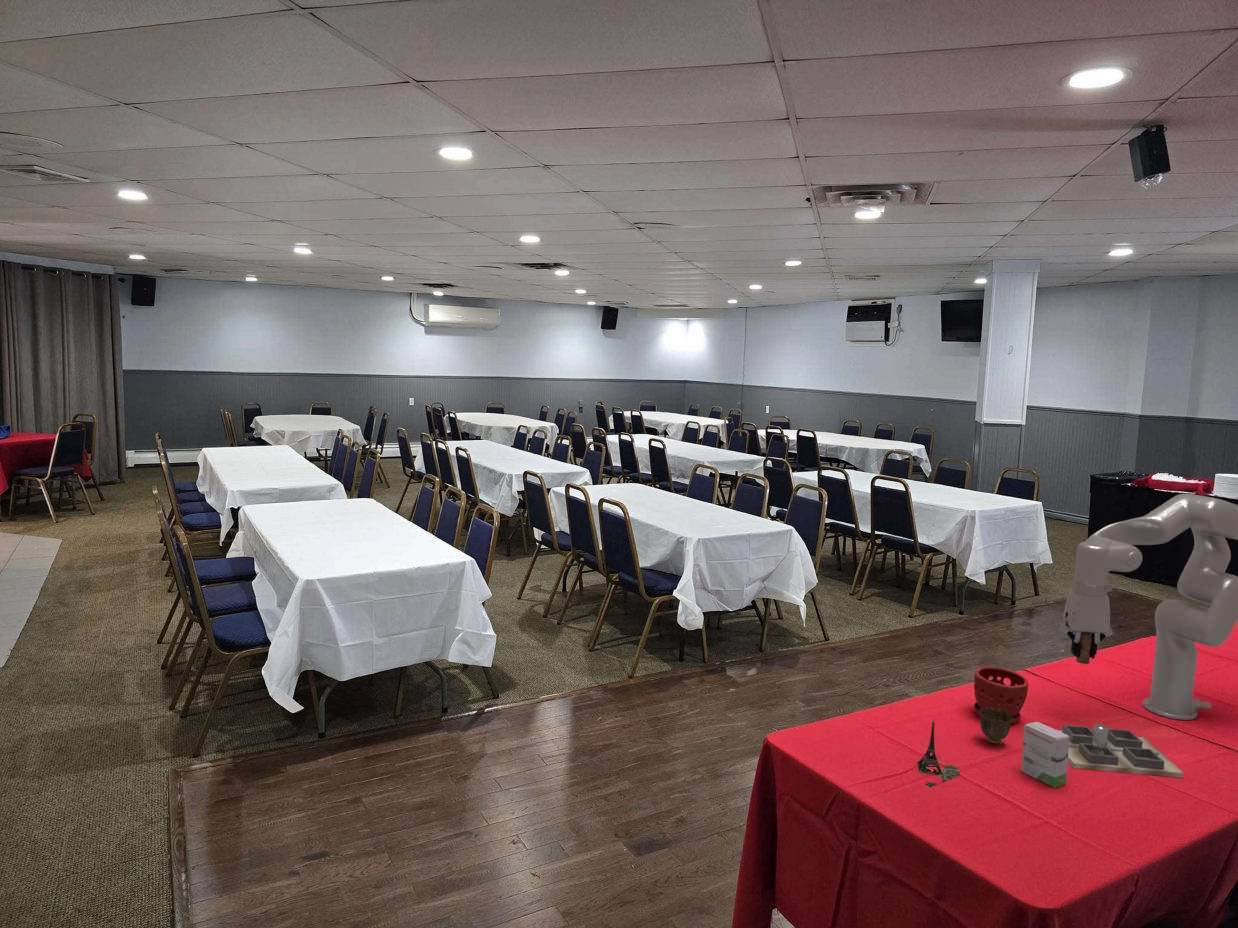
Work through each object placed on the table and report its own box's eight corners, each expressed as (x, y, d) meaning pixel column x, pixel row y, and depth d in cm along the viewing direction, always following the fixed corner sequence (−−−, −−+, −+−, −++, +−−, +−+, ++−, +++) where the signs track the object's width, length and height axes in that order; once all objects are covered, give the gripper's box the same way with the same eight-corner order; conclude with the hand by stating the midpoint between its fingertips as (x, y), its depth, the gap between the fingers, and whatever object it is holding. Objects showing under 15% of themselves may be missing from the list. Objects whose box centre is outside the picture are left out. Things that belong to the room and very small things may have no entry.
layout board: (1143, 741, 201) (1147, 707, 200) (1183, 777, 183) (1187, 740, 182) (1044, 733, 204) (1047, 699, 203) (1073, 767, 187) (1076, 731, 186)
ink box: (1067, 784, 179) (1072, 735, 178) (1053, 788, 177) (1057, 739, 176) (1033, 766, 187) (1037, 719, 186) (1019, 770, 185) (1023, 723, 183)
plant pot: (972, 722, 210) (976, 679, 208) (970, 703, 222) (974, 663, 220) (1027, 731, 205) (1031, 688, 204) (1022, 711, 217) (1025, 670, 216)
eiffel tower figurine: (928, 790, 176) (933, 734, 175) (892, 770, 185) (895, 716, 183) (969, 773, 184) (974, 719, 182) (932, 755, 193) (936, 703, 191)
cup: (1013, 751, 194) (1016, 720, 193) (981, 747, 196) (984, 717, 195) (1005, 737, 202) (1007, 707, 201) (974, 734, 203) (976, 704, 202)
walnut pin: (1086, 660, 210) (1089, 631, 209) (1091, 664, 207) (1094, 635, 206) (1074, 659, 210) (1077, 630, 209) (1079, 663, 207) (1081, 634, 206)
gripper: (1116, 587, 208) (1109, 653, 211) (1051, 583, 211) (1045, 648, 213) (1130, 595, 201) (1123, 663, 203) (1062, 591, 203) (1056, 659, 206)
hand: (1083, 655), depth 208 cm, fingers closed on walnut pin, 3 cm apart
